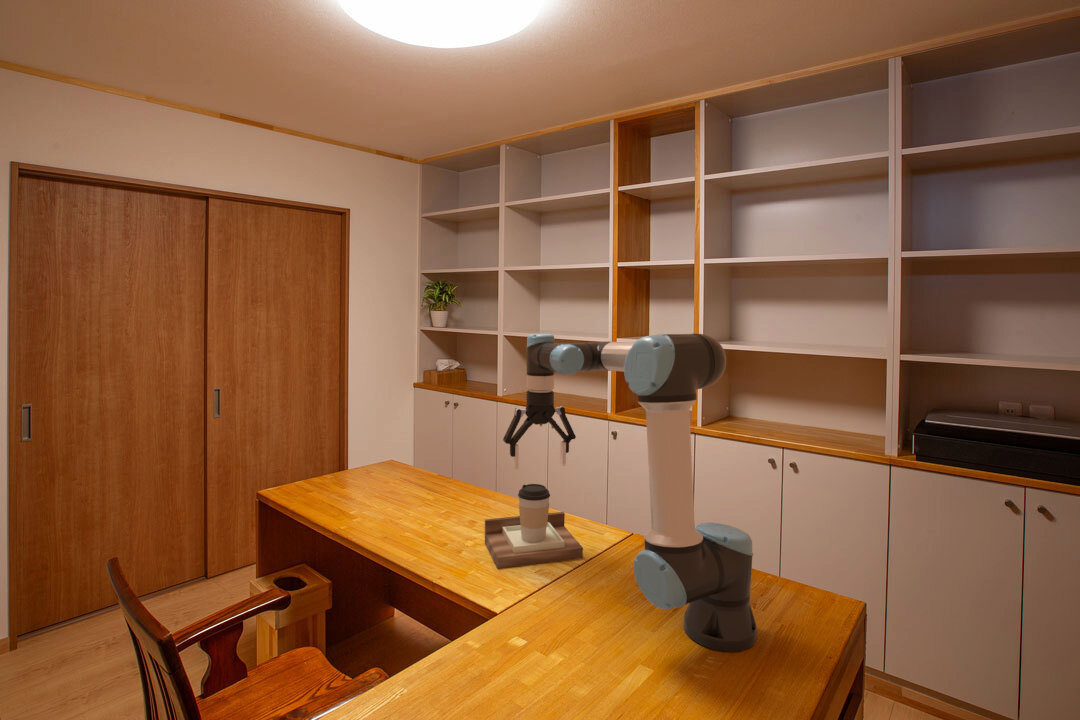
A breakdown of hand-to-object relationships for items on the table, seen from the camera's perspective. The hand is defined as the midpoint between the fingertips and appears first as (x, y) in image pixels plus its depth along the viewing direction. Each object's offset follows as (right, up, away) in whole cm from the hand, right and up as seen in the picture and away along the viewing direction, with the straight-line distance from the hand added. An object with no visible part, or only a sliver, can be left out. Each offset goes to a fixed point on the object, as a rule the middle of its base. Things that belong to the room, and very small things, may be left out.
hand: (539, 466), depth 166 cm
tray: (-2, -21, +3) cm, 22 cm away
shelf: (-2, -24, +4) cm, 25 cm away
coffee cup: (-2, -21, +3) cm, 21 cm away
